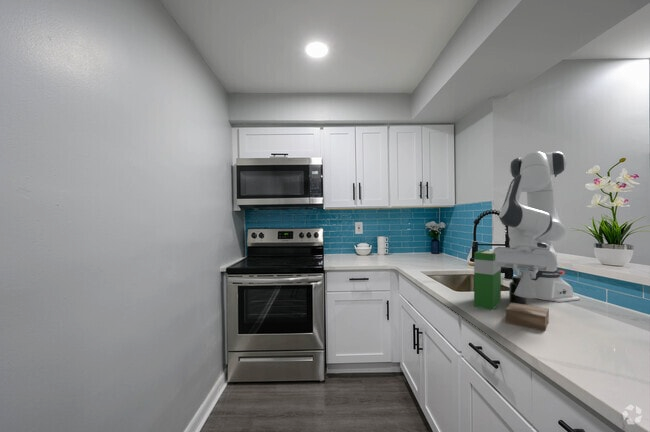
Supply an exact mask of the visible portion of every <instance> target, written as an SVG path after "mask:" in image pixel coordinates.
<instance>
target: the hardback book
mask: <svg viewBox="0 0 650 432" xmlns="http://www.w3.org/2000/svg"><path fill="white" fill-rule="evenodd" d="M473 255H474V256H473V257H474V259H473V261H474V263H473V264H474V265H473V266H474V268H473V269H474V272H473V273H474V274H473V275H474V277H473V278H474V279H473V280H474V284H473V287H474V288H473V296H474V298H473V304H474V305H473V306H474V307H477V308H482V309H487V310H493V311H494V309H495V308H496V307H497V306H498V305H499V303H500V302H501V300H502V298H501V294H502V293H501V292H502V289H501V287H502V286H501V285H502V282H501V281H502V275H501V274H502V272H501V270H502V267H497V266H496V265H495V256H496V255H495V254H494V251H493V250H492V251H487V250H486V249H481V250H477V251H475V252H474V254H473Z"/></svg>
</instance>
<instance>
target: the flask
mask: <svg viewBox="0 0 650 432" xmlns="http://www.w3.org/2000/svg"><path fill="white" fill-rule="evenodd" d="M520 271H522V277H521V280H520V282H519V284H518V286H517V288H516V290H515V293H514V294H515V295H516V296H519V297H524V298H527V299H537V296H536V293H535V290H534V288H533V285H532V282H531V277H530V273H531V271H530V270H528V269H520Z"/></svg>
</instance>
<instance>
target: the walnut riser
mask: <svg viewBox="0 0 650 432" xmlns="http://www.w3.org/2000/svg"><path fill="white" fill-rule="evenodd" d="M549 310H550V309H549V308H546V307H542V306H541V307H540V306H534V305H530V304H529V305H528V304H518V303H511V302H510V303H509V305H508V306H507V307H506V308H505V323H506V324H507V323H508V324H512V325H515V326H521V327H524V328H525V327H526V328H529V329H535V330H539V331H543V332H544V331H546V330H547V327H548V325H549V321H550V319H549V318H550V317H549V316H550V315H549V312H550V311H549Z"/></svg>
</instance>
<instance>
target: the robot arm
mask: <svg viewBox="0 0 650 432" xmlns="http://www.w3.org/2000/svg"><path fill="white" fill-rule="evenodd" d="M567 162H568V161H567V157H566V156H565V155H564V153H563V152H561V151H553V152H541V151H531V152H529V153H527V154H526V155H525V156H523V157H516V158H513V160H512V161H511V162H510V165H509V172H510V174H511V177H512V178H513V179H512V180H511V182H510V184H509V186H508V189H507V193H506V196H505V199H504V202H503V205H502V206H501V209H500V211H499V214H498V219H499V220H500V222H501V224H502V225H503V226H506V227H507V232H508V238H509V242H508V243H509V246H507V247H506V246H505V247H504V246H503V247H502V246H497V247H495V248H493V252H494V254H495V255H496V256H495V265H496V266H497V267H501V268H507V269H512V270H513V272H514V273H515V274H516V276H517V277H522V271H521V270H530V271H531V273H530V277H531V282H532V285H533V288H534V290H535V293H536V296H537V298H536V299H538V300H542V301H543V300H544V301H550V302H557V303H561V302H563V303H564V302H571V301H579V300H580V297H579V296H578V295H574V289H573V287H572V285H570V284H569V283H568V282H567V281H565V280H564V279H563V278H562V277H561V276H564V275H565V271H564V270H558V261H557V260H558V259H557V258H558V257H557V256H558V254H557V252H556V251H555V249H554V245H553V242H557V241H559V240H562V239H564V237H565V235H566V232H567V231H566V227H565V225H564V224H563V223H562V222H561V220H560V217H559V214H558V210H557V209H556V202H555V201H556V200H555V192H554V191H555V190H554V189H555V188H554V187H555V186H554V182H553V178H552V176H553V175H554V178H557V176H559V175H560V174H562V173H563V172H564V171H565V169H566V167H567ZM523 192H524V193H526V201H527V202H526V203H527V204H526V205H524V204H523V203H521V202H520V197H521V194H522V193H523ZM519 269H520V270H519Z"/></svg>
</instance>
